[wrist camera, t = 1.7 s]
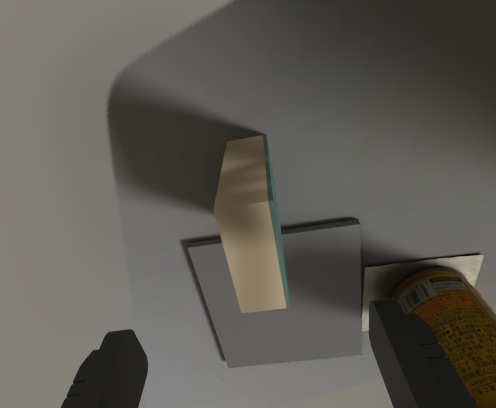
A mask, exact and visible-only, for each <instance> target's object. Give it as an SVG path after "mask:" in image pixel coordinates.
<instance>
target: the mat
mask: <svg viewBox="0 0 496 408" xmlns="http://www.w3.org/2000/svg"><path fill="white" fill-rule="evenodd" d="M281 236H282V243H283V251H284V259H285V267H286V275H287V283H288V291H289V299H290V306H291V308H284V309H275V310H266V311H258V312H249V313H241V310H240V306H239V302H238V299H237V295H236V291H235V287H234V284H233V280H232V276H231V273H230V269H229V265H228V262H227V258H226V254H225V251H224V247H223V243H222V239H221V238H219V239H212V240H205V241H198V242H191V243H189V244H188V251H189V254H190V257H191V260H192V263H193V265H194V268H195V271H196V274H197V277H198V280H199V283H200V286H201V289H202V292H203V295H204V298H205V301H206V304H207V307H208V310H209V313H210V315H211V318H212V321H213V324H214V327H215V330H216V333H217V336H218V339H219V342H220V345H221V348H222V351H223V354H224V357H225V360H226V363H227V366H228V368H234V367H244V366H254V365H264V364H274V363H284V362H294V361H304V360H315V359H325V358H335V357H345V356H355V355H362V326H361V236H360V222H359V220H358V219H356V220H349V221H341V222H334V223H327V224H320V225H313V226H306V227H298V228H291V229H284V230H281Z"/></svg>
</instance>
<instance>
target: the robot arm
mask: <svg viewBox="0 0 496 408" xmlns="http://www.w3.org/2000/svg"><path fill="white" fill-rule="evenodd" d="M369 338H370V343H371V347H372V350H373V353H374V356H375V358H376V361H377V364H378V366H379V369H380V372H381V375H382V377H383V380H384V383H385V385H386V388H387V391H388V394H389V396H390V399H391V402H392V404H393V407H394V408H478V407H477V406H476V404H475V402H474V400H473V399H472V397H471V395H470V394H469V392H468V390H467V388H466V387H465V385H464V383H463V381H462V380H461V378H460V376H459V375H458V373H457V371H456V369H455V368H454V366H453V364H452V362H451V361H450V359H448V356H447V354H446V352H445V350H444V349H443V347H442V346H441V345H440V342H439V340H438V338H437V337H436V335H435V333H434V331H433V330H432V328H431V326H430V325H428V324H427V323H426V322H425V321H424V320H423V319H422V318H420V317H419V316H418V315H417V314H416V313H414V314H405V315H404V314H403V312H402V310H401V308H400V306H399V305H398V303H397V301H396V300H395V299H394V298H389V299H380V300H372V301H370V302H369ZM147 372H148V360H147V356H146V354H145V352H144V350H143V348H142V346H141V345H140V343H139V341H138V339H137V337H136V335H135V333H134V331H133V330H131V329H128V330H120V331H112V332H108V333H107V334H106V336H105V337H104V340H103V342H102V344H101V346H100V349H99V350H93V351H92V352H91V354H90V355H89V356H88V357H87V358H86V360H85V361H84V362H83V363H82V364H81V366H80V368H79V370H78V372H77V374H76V376H75V379H74V381H73V385H71V387H70V389H69V392H68V394H67V398H66V399H65V400H64V402H63V404H62V406H61V408H138V405H139V402H140V399H141V395H142V391H143V388H144V384H145V380H146V377H147Z"/></svg>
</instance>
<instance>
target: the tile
mask: <svg viewBox="0 0 496 408" xmlns="http://www.w3.org/2000/svg"><path fill="white" fill-rule="evenodd" d="M213 210H214V214H215V217H216V221H217V225H218V228H219V232H220V236H221V239H222V243H223V247H224V251H225V254H226V258H227V262H228V265H229V269H230V273H231V276H232V280H233V284H234V287H235V291H236V295H237V299H238V302H239V306H240V310H241V313H249V312H258V311H266V310H275V309H284V308H291V306H290V299H289V291H288V283H287V275H286V267H285V259H284V251H283V243H282V236H281V228H280V220H279V213H278V207H277V200H276V194H275V187H274V181H273V175H272V168H271V162H270V156H269V149H268V143H267V136H266V135H260V136H254V137H249V138H243V139H237V140H231V141H227V144H226V149H225V154H224V159H223V164H222V169H221V174H220V179H219V184H218V189H217V194H216V199H215V204H214V209H213Z"/></svg>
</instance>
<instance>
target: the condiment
mask: <svg viewBox="0 0 496 408" xmlns="http://www.w3.org/2000/svg"><path fill="white" fill-rule="evenodd" d="M483 256H484V255H476V256H461V257H453V258H439V259H430V260H425V261H418V262H413V263H400V264H388V265H383V266H375V267H365V275H364V289H363V304H362V331H366V330H369V302H370V301H372V300H380V299H389V298H394V299H395V300H396V301H397V303H398V305H399V306H400V308H401V310H402V312H403V314H404V315H405V314H414V313H416V314H417V315H418V316H419V317H420V318H422V319H423V320H424V321H425V322H426V323H427V324H428V325H430V326H431V328H432V330H433V331H434V333H435V335H436V337H437V338H438V340H439V342H440V345H441V346H442V347H443V349H444V350H445V352H446V354H447V356H448V359H450V361H451V362H452V364H453V366H454V368H455V369H456V371H457V373H458V375H459V376H460V378H461V380H462V381H463V383H464V385H465V387H466V388H467V390H468V392H469V394H470V395H471V397H472V399H473V400H474V402H475V404H476V406H477V407H478V408H496V314H495V313H494V311H493V310H492V308H491V307H490V306H489V305H488V304H487V303H486V301H484V300H483V298H482V297H481V295H480V293H479V292H478V291H477V290H476V289H475V288H474V285H475V282H476V279H477V276H478V273H479V271H480V267H481V264H482V260H483ZM404 273H405V274H404Z"/></svg>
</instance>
